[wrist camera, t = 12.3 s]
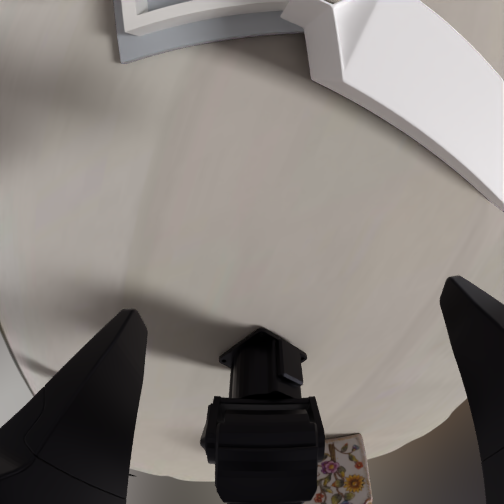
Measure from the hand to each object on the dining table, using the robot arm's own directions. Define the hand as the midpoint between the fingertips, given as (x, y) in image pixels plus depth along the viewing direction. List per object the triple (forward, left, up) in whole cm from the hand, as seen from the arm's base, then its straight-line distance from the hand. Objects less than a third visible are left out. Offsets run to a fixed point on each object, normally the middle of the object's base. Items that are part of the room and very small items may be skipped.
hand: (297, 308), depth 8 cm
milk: (+15, -15, -10) cm, 23 cm away
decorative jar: (-28, -42, -13) cm, 53 cm away
